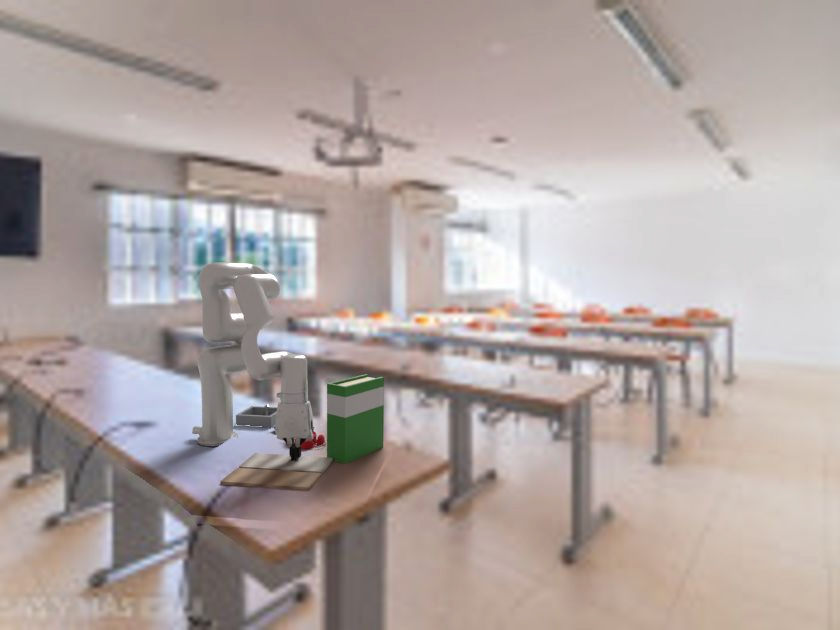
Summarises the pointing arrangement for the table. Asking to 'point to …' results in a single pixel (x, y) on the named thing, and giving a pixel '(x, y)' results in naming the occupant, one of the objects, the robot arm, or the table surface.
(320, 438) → the alarm clock
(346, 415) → the hardback book
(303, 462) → the grey oak plank
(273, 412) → the grey tray
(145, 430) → the table surface
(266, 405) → the bacteriophage
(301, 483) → the walnut plank
